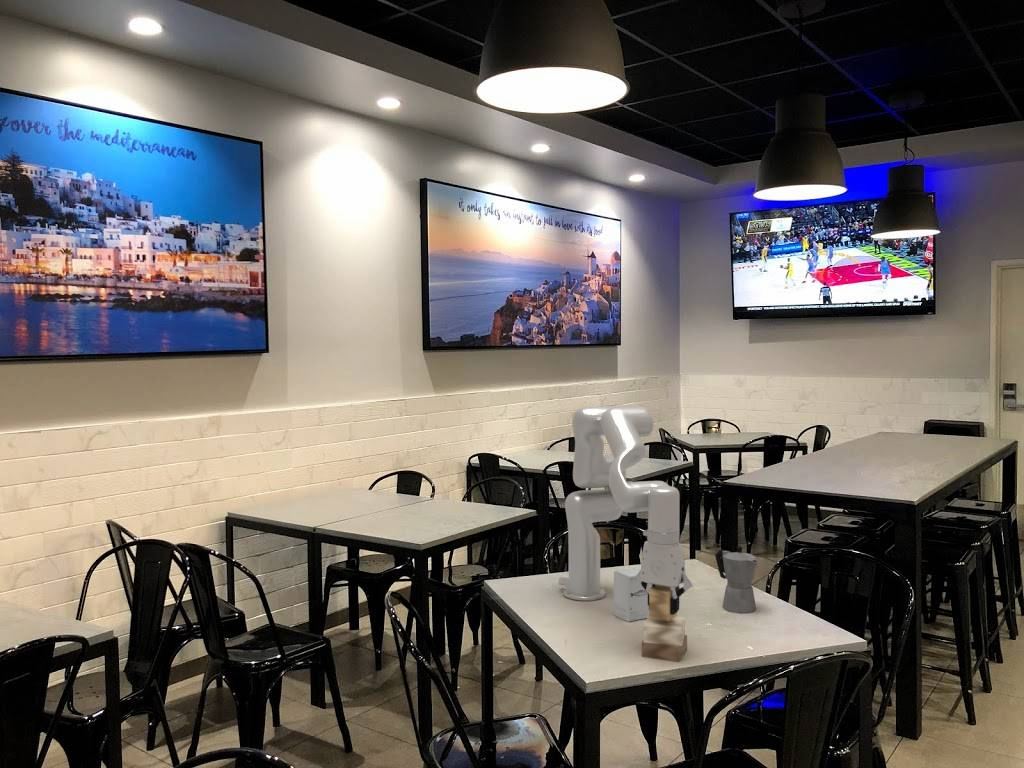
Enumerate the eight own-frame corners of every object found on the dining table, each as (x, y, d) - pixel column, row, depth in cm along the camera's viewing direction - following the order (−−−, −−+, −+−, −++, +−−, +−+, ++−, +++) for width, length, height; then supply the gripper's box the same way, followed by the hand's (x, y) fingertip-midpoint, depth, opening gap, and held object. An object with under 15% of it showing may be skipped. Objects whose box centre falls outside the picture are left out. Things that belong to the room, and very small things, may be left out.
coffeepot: (768, 611, 235) (769, 548, 235) (746, 617, 230) (746, 553, 229) (727, 598, 248) (727, 538, 247) (704, 603, 243) (704, 542, 242)
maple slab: (643, 642, 201) (643, 626, 201) (648, 630, 210) (648, 614, 210) (681, 645, 199) (681, 629, 198) (685, 633, 207) (685, 617, 207)
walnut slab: (641, 658, 202) (641, 641, 202) (651, 646, 210) (651, 630, 210) (678, 663, 198) (678, 647, 198) (687, 651, 206) (687, 635, 206)
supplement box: (628, 622, 227) (628, 576, 226) (612, 614, 233) (612, 570, 233) (650, 618, 230) (650, 572, 230) (634, 610, 237) (634, 566, 236)
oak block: (649, 617, 204) (649, 588, 203) (658, 611, 208) (658, 583, 207) (668, 620, 201) (668, 592, 200) (677, 615, 205) (677, 587, 204)
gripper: (625, 535, 205) (624, 609, 206) (690, 545, 195) (689, 621, 196) (638, 530, 211) (638, 601, 212) (702, 539, 201) (702, 613, 202)
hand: (663, 610), depth 204 cm, fingers closed on oak block, 5 cm apart
